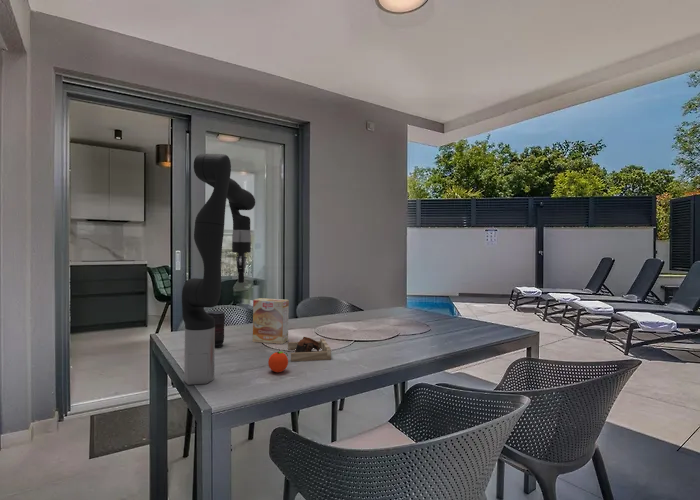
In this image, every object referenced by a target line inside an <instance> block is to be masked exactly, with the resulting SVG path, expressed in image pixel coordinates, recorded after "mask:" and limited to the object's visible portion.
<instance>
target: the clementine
mask: <svg viewBox="0 0 700 500" xmlns="http://www.w3.org/2000/svg"><path fill="white" fill-rule="evenodd" d="M288 356H289V355H288V353H287V352H285V351H277V352H274V353H272V354H271V355H270V356H269V358H268V363H267V364H268V367H269V369H270V370H271V371H272V372H275V373H281V372H283V371H285V370H286V368H287V367H288V364H289V359H288Z"/></svg>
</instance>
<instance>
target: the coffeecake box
mask: <svg viewBox="0 0 700 500" xmlns="http://www.w3.org/2000/svg"><path fill="white" fill-rule="evenodd" d="M252 301H253V304H252V305H253V307H252V342H253V343H261V344H262V343H263V344H273V343H276V345H284V344H285V343H287V342H288V341H289V316H290V315H289V314H290V313H289V312H290V311H289V310H290V309H289V308H290V304H289V303H290V301H289V299H279V298H263V297H262V298H261V297H258V298H255V299H253V300H252ZM286 341H287V342H286ZM283 343H284V344H283Z"/></svg>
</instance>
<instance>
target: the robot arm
mask: <svg viewBox="0 0 700 500" xmlns="http://www.w3.org/2000/svg"><path fill="white" fill-rule="evenodd" d="M231 162H232V161H231V159H230V157H229V156H228V155H227V154H224V153H223V154H222V153H199V154H198V155H196V156H195V158H194V161H193V172H194V174H195V176H196V177H197V178H198V179H199V180H200V181H202V182H203V183H205V184H208V186H210V187H212V188H213V191H212V193H211V194H210V197H209V198H208V200H207V201H206V202H205V204H204V205H203V206H202V207H201V208H200V210H199V211H198V213H197V215H196V217H195V220H194V221H195V222H194V229H193V240H194V244H195V246H196V248H197V250H198V252H199V255H200V257H201V259H202V263H203V278H199V277H198V278H197V277H196V278H189V279H188V280H187V281H185V282H184V284H183V286H182V289H181V307H182V308H181V312H182V320H183V323H184V359H183V361H184V362H183V363H184V365H183V366H184V367H183V368H184V376H183V377H184V378H183V379H184V381H183V382H184V383H186V385H187V386H188V385H205V384H208V383H210V382H212V381H213V380H214V379H215V352H216V351H215V350H216V348H215V319H214V318H213V317H212V316H210V315H208V314H207V313H206V310H205V308H214V307H216V306H217V304H218V303H219V302H220V300H221V293H222V253H223V240H224V234H225V233H224V232H225V219H226V217H225V216H226V214H225V213H226V206H227V205H226V204H227V200H228V206H229V209H230V213H231V216H232V234H231V235H232V236H231V251H232V253H236V254H237V256H236V257H235V261H236V268H237V270H236V271H237V276H238V277H237V278H238V279H237V282H238V283H239V284H243V283H245V273H246V272H245V271H246V266H247V265H246V263H247V256H246V254H247V253H251V252H252V250H251V249H252V248H251V247H252V242H251V241H252V233H251V218H250V217H249V216H248V215H243V214H241V212H240V211H251V210H253V209H254V208H255V206H256V198H255V196H254V195H253V194H252V192H250V191H248V190H246V189H245V188H242V187H241V185H240V184H239V183H238V182H237V181H235V180H234V179H233V178H231V174H232V173H231V172H232V165H231V164H232V163H231Z"/></svg>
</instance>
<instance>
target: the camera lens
mask: <svg viewBox="0 0 700 500" xmlns="http://www.w3.org/2000/svg"><path fill="white" fill-rule="evenodd" d="M205 312H206V311H205ZM206 313H207V314H208V315H210V316H212V317H213V318H214V319H215V349H217V348H221V347H223V345H224V341H225V322H226V320H225V319H226V315H225V311H221V310H211V311H207V312H206Z"/></svg>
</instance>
